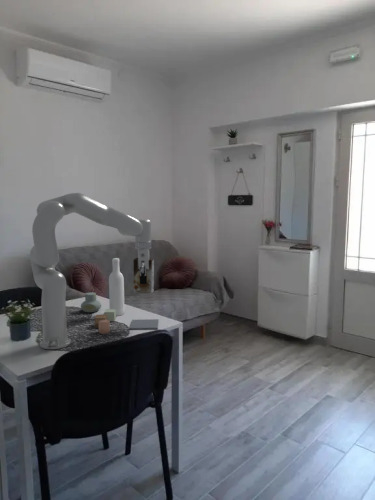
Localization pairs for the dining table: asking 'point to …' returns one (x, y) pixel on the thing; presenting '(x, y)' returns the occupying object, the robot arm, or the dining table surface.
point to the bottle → (116, 288)
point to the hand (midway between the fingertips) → (143, 282)
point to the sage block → (110, 314)
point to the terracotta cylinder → (104, 326)
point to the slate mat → (144, 324)
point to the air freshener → (90, 303)
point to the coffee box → (150, 278)
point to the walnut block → (99, 319)
